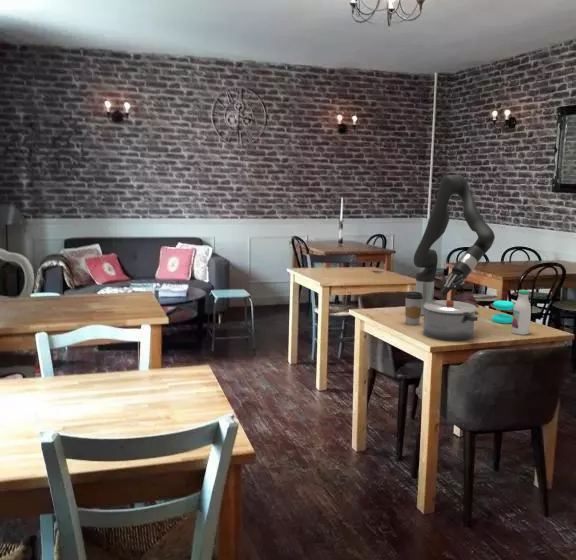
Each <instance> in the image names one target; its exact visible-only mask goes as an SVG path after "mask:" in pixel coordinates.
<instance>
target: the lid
mask: <svg viewBox="0 0 576 560" xmlns="http://www.w3.org/2000/svg"><path fill="white" fill-rule="evenodd" d="M424 308H425V309H428V310H431V311H435V312H441V313H450V314H466V313H473V312H475V313H476V312H477V309H478V307H476V306H475V305H473V304H470V303H466V302H459V301H451V299H450V300H449V299H447V300H445V299H442V300H441V299H439V300H437V299H436V300H434V299H433V301H427V302H425V303H424Z"/></svg>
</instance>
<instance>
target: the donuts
mask: <svg viewBox="0 0 576 560" xmlns="http://www.w3.org/2000/svg"><path fill="white" fill-rule="evenodd" d="M514 305H515V303H514V302H513V301H510V300H495V301H493V305H492V306H493V307H494V308H495V309H496V310H500V311H511V310H513V309H514ZM512 319H513V315H510V314H507V313H496V314H494V315H492V317H491V320H492V322H495V323H497V324H503V325H504V324H508V325H509V324H512Z"/></svg>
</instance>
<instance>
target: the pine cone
mask: <svg viewBox="0 0 576 560" xmlns="http://www.w3.org/2000/svg"><path fill="white" fill-rule="evenodd" d="M450 300H451V301H459V302H466V303H470V304H473V305H475V306H476V307H477V308H479V305H478V304H477V303H478V302H477V300H476V298H475V297H474V295H473V294H471V293H468V292H462V293H461V292H460V294H456V295H454V296H452V297H451V298H450Z"/></svg>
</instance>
